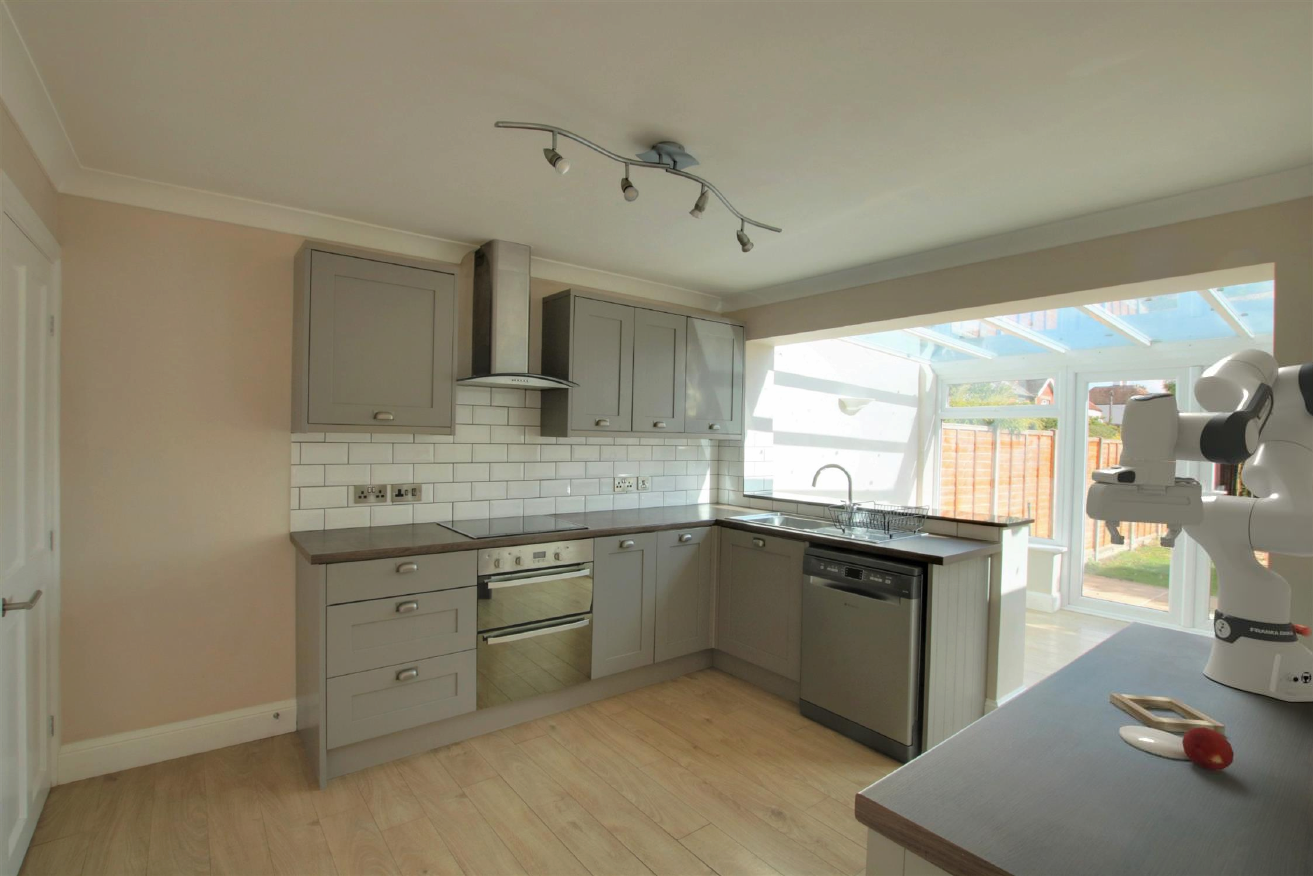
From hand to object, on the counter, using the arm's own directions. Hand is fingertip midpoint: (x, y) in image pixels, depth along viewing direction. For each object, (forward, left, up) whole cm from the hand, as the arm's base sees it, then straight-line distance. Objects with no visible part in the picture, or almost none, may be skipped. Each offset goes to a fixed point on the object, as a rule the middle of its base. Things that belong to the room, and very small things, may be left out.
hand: (1142, 545), depth 125 cm
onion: (+7, +25, -26) cm, 37 cm away
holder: (+2, +11, -29) cm, 31 cm away
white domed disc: (+11, +22, -29) cm, 38 cm away
